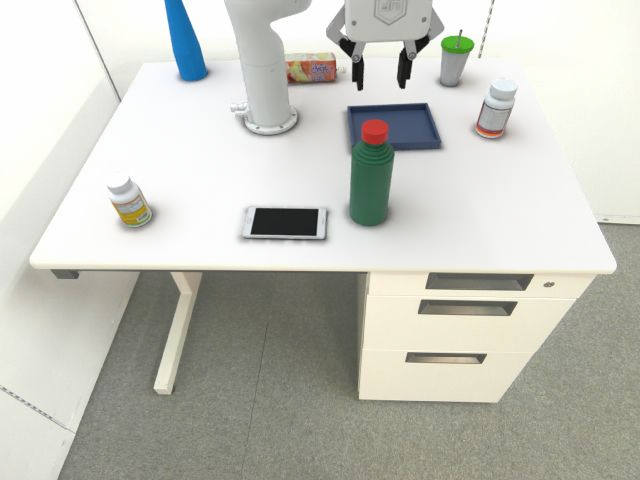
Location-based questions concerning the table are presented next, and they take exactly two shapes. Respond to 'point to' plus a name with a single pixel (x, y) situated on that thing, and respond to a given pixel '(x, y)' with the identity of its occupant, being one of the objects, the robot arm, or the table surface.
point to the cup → (454, 58)
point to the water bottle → (370, 182)
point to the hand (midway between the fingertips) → (380, 83)
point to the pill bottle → (496, 108)
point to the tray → (397, 124)
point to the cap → (374, 131)
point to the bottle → (184, 42)
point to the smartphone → (285, 223)
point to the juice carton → (310, 67)
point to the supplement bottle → (128, 200)
